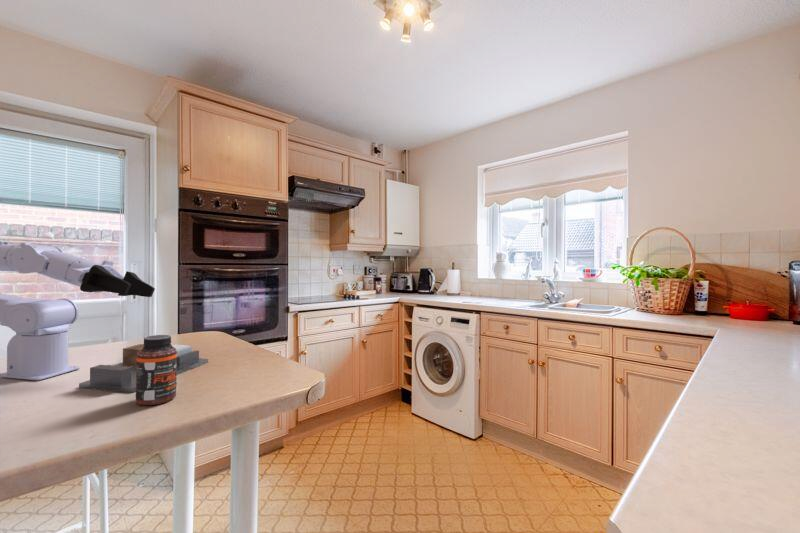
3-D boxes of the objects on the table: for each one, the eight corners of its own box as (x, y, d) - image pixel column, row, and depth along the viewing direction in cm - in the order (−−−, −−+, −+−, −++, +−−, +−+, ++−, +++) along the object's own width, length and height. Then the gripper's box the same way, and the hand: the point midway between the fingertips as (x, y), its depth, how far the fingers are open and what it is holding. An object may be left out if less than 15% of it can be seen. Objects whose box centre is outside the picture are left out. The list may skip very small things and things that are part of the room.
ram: (157, 362, 80) (157, 349, 80) (174, 357, 85) (174, 343, 85) (175, 364, 80) (175, 350, 79) (191, 358, 84) (192, 345, 84)
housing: (122, 365, 81) (122, 348, 81) (143, 359, 87) (143, 343, 87) (139, 366, 81) (139, 349, 81) (159, 360, 86) (159, 344, 86)
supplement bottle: (155, 408, 59) (156, 341, 58) (126, 405, 60) (127, 339, 60) (184, 395, 64) (185, 334, 64) (157, 392, 66) (157, 332, 65)
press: (78, 387, 67) (79, 366, 67) (164, 358, 87) (164, 343, 87) (132, 392, 65) (133, 371, 65) (208, 362, 85) (208, 345, 85)
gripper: (57, 246, 68) (124, 267, 68) (113, 260, 82) (168, 277, 82) (39, 281, 66) (108, 302, 66) (99, 288, 81) (156, 306, 81)
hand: (140, 291), depth 74 cm, fingers open, 7 cm apart
